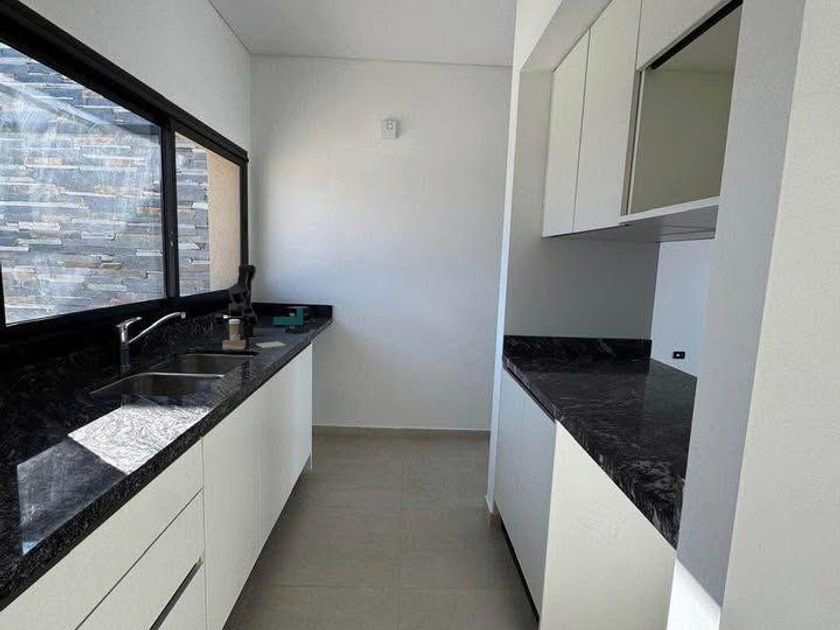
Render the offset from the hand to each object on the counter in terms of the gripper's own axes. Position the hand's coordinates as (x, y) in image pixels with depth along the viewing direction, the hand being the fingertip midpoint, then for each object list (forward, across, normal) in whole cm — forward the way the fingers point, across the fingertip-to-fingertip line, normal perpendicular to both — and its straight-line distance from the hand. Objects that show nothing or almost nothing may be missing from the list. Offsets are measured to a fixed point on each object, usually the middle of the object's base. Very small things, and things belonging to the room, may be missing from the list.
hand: (234, 333), depth 215 cm
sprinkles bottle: (+4, 0, +6) cm, 7 cm away
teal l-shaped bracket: (-50, +17, +61) cm, 81 cm away
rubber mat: (+1, +16, +9) cm, 18 cm away
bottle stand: (+5, 0, +5) cm, 7 cm away
